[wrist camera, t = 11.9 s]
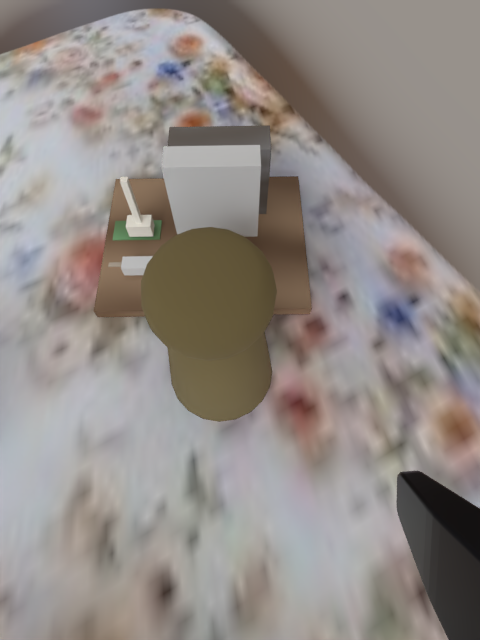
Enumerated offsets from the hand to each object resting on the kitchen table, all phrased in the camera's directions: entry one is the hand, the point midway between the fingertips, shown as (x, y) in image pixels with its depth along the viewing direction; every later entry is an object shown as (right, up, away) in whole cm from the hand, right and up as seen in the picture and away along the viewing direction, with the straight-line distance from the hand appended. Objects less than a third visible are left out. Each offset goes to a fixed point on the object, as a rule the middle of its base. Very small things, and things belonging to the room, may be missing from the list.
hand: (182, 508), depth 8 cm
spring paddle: (-2, +7, +17) cm, 19 cm away
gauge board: (-1, +9, +19) cm, 22 cm away
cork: (0, +1, +16) cm, 16 cm away
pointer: (-5, +10, +19) cm, 22 cm away
